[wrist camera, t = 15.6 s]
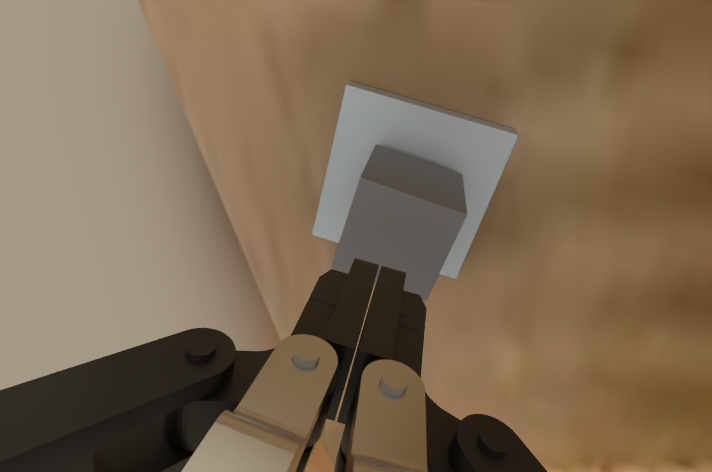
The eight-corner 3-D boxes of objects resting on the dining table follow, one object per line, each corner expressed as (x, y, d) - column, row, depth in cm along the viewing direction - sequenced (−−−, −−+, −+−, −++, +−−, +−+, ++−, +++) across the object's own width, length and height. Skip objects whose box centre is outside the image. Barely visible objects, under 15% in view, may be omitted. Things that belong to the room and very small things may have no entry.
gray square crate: (462, 174, 27) (467, 214, 22) (428, 248, 30) (426, 300, 25) (375, 144, 27) (360, 177, 22) (350, 221, 30) (330, 267, 25)
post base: (515, 129, 29) (540, 172, 21) (455, 268, 34) (458, 342, 26) (350, 81, 29) (318, 107, 22) (316, 226, 34) (281, 287, 27)
